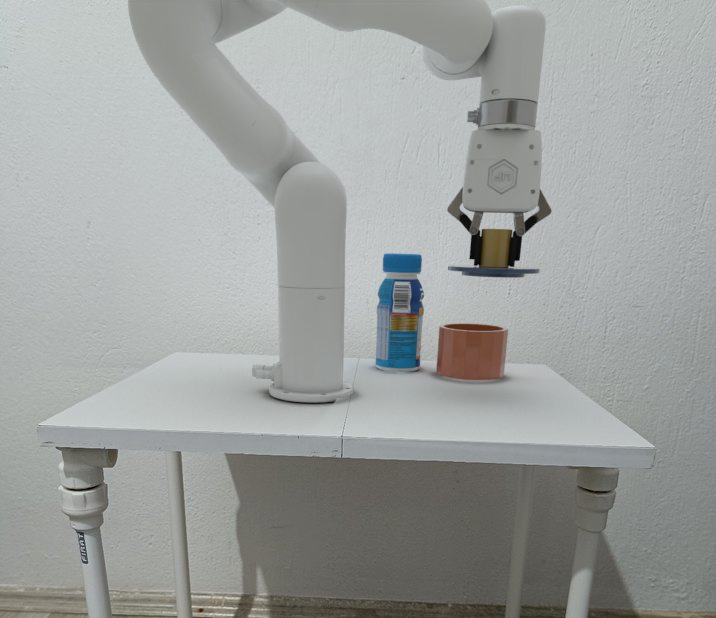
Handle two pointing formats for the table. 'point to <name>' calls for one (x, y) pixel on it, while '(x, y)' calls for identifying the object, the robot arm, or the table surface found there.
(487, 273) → the cover
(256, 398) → the table surface
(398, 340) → the beverage bottle
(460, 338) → the tin
